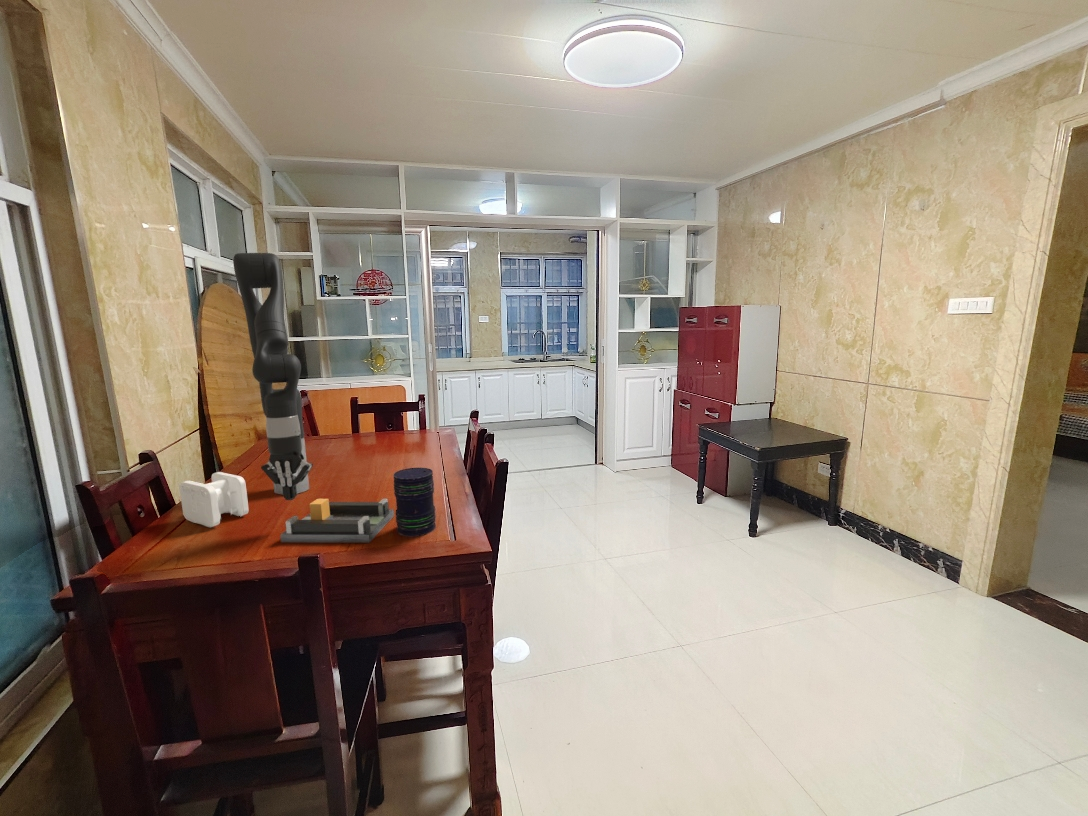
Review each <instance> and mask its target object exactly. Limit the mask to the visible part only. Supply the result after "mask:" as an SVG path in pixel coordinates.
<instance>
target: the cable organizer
mask: <svg viewBox="0 0 1088 816" xmlns="http://www.w3.org/2000/svg"><path fill="white" fill-rule="evenodd" d="M210 479H211V482H209V483H202V482H201V483H200V482H197V481H192V480H184V481H182V482H180V483H179V485H178V487H179V494H180V501H181V507H182V508H181V509H182V514H183V516H184V518H185V519H186V521H190V522H191V523H195V524H199V525H201V526H204V527H207V528H214V527H215V526H218V525H220V523H221V519H222V516H221V515H222V514H230V516H232V515H234V516H237V517H239V516H240V518H241V517H243V516H244V515H247V514H248V513H249V502H248V493H247V492H248V491H247V485H246V480H245V479H244V477H242V476H240V475H238V474H237V475H236V474H230V473H226V472H222V471H217V472H214V473H212V474H211V478H210Z"/></svg>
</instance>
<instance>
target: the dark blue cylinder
mask: <svg viewBox="0 0 1088 816" xmlns="http://www.w3.org/2000/svg"><path fill="white" fill-rule="evenodd" d="M433 475H434V473H433V470H432V469H431V468H428V467H410V468H403V469H400V470H397V471H395V472H394V473H393V490H394V491H393V495H394V497H395V501H396V503H395V504H396V509H395V521H396V526H397V528H396V529H397V530H396V531H397V534H399V535H400V536H404V537H420V536H419V535H421V536H424V534H425V535H428V534H430V533H433V532H434V531H435V529H436V528H437V525H436V518H437V517H436V515H437V514H436V506H435V505H434V504H435V502H434V493H435V487H434V486H435V482H434V476H433ZM427 533H428V534H427Z"/></svg>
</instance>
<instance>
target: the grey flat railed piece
mask: <svg viewBox="0 0 1088 816" xmlns="http://www.w3.org/2000/svg"><path fill="white" fill-rule="evenodd" d="M389 507H390V505H389V500H388V498H382V499H381V500H380V501H329V509H330V515H333V518H332V519H330V520H311V515H310V513H308V514H307V515H306V516H304V517H303V518H300V519H299V515H293V516H292V517H290V518H288V519H287V520H286V521H285V531H283V532H282V533H281V534H280V543H324V544H325V543H329V544H330V543H335V544H336V543H341V544H342V543H345V544H346V543H349V544H352V543H357V544H359V543H360V544H363V543H365V544H367V543H371V542H372V540H373V539H374V538H375V537H376V536H378V534H379V533H380V532H381V531H382V530H383V529H384V527H385V526H387V524H388V523H390V521H391V520H392V519H393V518H394V517H395V511H394V508H389Z"/></svg>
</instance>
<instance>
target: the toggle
mask: <svg viewBox="0 0 1088 816" xmlns="http://www.w3.org/2000/svg"><path fill="white" fill-rule="evenodd" d="M329 502H330V500H329V498H317V499H315V500H313V501H312V502H310V503H309V514H310V515H311V520H330V519H332V518H333V515H330V509H329Z"/></svg>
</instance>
